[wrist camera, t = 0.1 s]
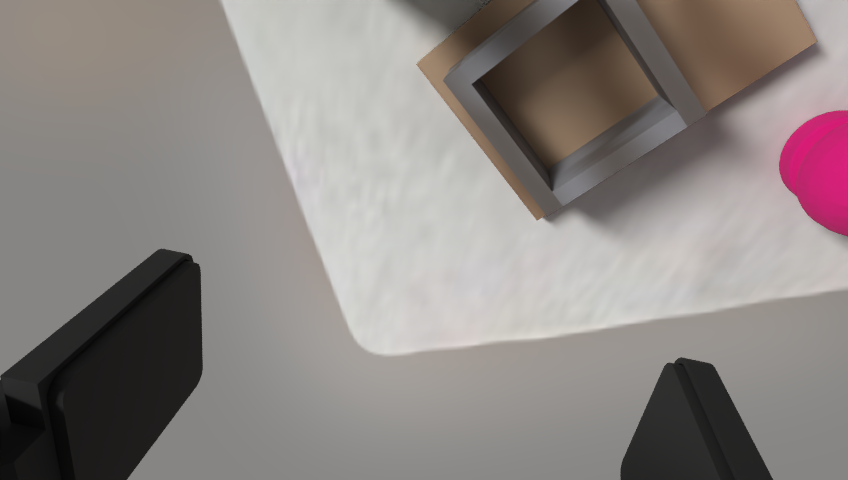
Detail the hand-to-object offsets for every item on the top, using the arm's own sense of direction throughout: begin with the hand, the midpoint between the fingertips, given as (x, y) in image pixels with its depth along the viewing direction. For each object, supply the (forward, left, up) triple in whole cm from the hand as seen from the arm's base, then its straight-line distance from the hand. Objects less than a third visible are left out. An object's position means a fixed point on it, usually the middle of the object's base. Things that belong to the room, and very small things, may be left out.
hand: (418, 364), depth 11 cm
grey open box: (-8, +3, -31) cm, 32 cm away
